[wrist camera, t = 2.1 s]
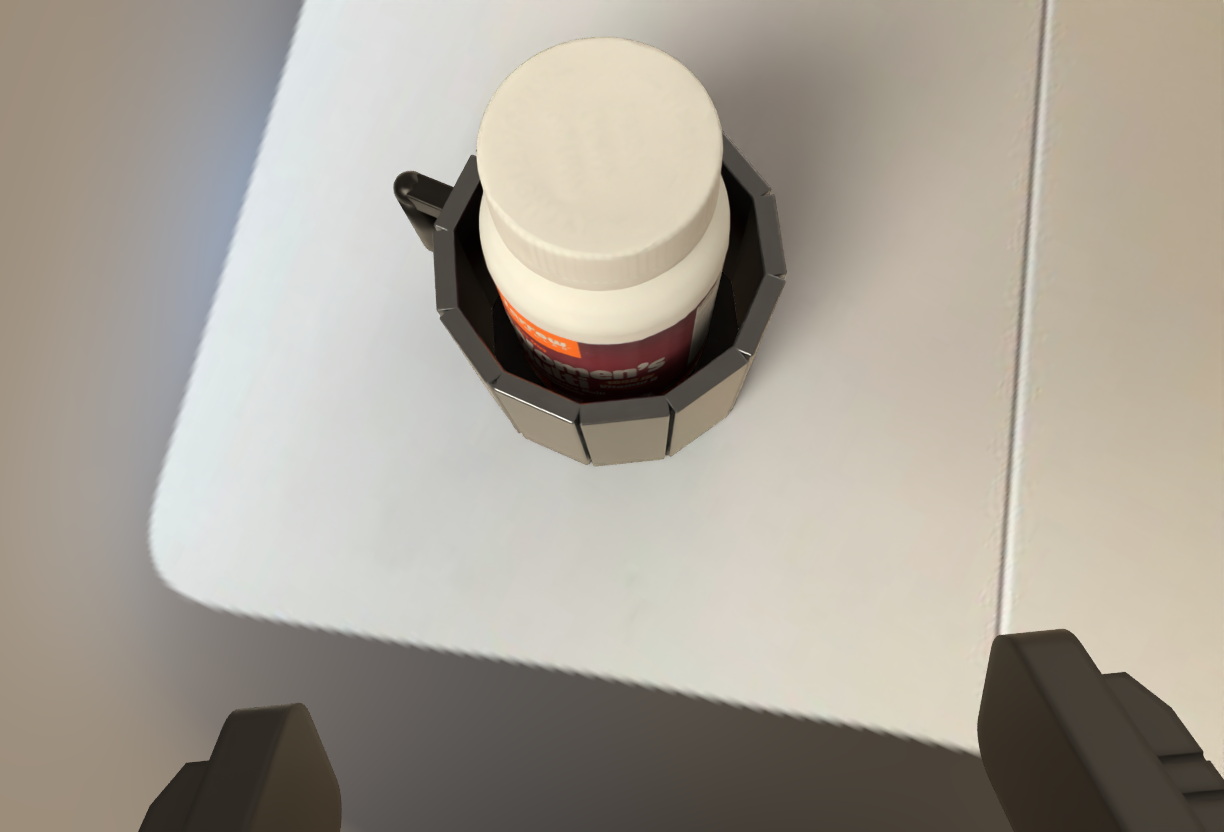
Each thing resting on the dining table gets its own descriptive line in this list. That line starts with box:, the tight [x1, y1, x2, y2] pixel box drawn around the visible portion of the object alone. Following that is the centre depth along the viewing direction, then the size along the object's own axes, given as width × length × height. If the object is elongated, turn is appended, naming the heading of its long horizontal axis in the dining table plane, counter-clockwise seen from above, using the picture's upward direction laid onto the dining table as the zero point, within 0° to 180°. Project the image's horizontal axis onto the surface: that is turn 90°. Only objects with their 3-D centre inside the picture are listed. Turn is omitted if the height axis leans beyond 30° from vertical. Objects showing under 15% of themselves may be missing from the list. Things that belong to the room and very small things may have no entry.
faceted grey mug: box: [394, 131, 787, 466], centre depth 26 cm, size 11×9×6 cm
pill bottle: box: [477, 37, 730, 403], centre depth 23 cm, size 6×6×11 cm
